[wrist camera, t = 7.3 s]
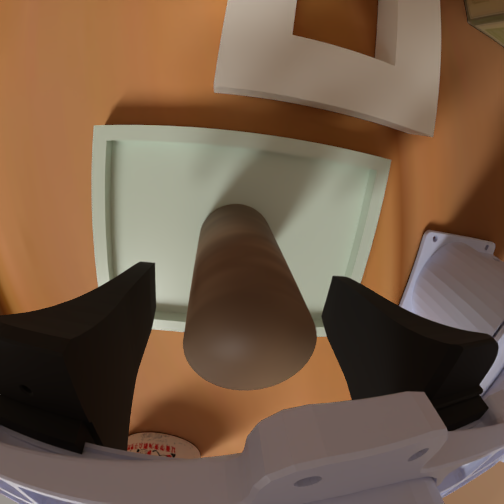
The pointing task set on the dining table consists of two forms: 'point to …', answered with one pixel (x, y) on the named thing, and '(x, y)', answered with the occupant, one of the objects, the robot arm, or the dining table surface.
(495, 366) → the robot arm
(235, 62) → the holder block
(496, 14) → the food packaging
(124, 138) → the sage tray
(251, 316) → the walnut pin
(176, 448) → the teacup with lid
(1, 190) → the dining table surface
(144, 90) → the dining table surface
